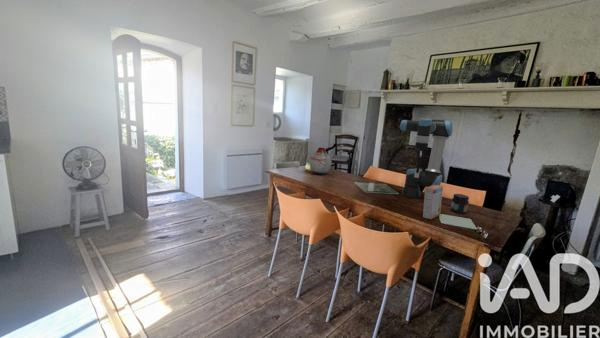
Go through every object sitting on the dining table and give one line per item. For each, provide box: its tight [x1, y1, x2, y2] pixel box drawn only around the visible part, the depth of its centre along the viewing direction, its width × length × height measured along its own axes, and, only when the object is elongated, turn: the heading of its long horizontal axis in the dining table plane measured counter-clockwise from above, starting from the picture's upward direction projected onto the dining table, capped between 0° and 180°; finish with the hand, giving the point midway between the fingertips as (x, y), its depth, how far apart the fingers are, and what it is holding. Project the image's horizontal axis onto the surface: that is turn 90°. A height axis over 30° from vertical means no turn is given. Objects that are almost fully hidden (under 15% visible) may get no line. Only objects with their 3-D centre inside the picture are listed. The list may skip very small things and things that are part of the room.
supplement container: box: [450, 193, 470, 214], centre depth 191 cm, size 10×10×12 cm
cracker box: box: [422, 185, 444, 221], centre depth 176 cm, size 14×6×21 cm, turn 129°
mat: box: [438, 213, 478, 230], centre depth 172 cm, size 18×20×1 cm
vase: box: [309, 147, 332, 176], centre depth 278 cm, size 23×23×28 cm
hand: (416, 177), depth 176 cm, fingers closed
